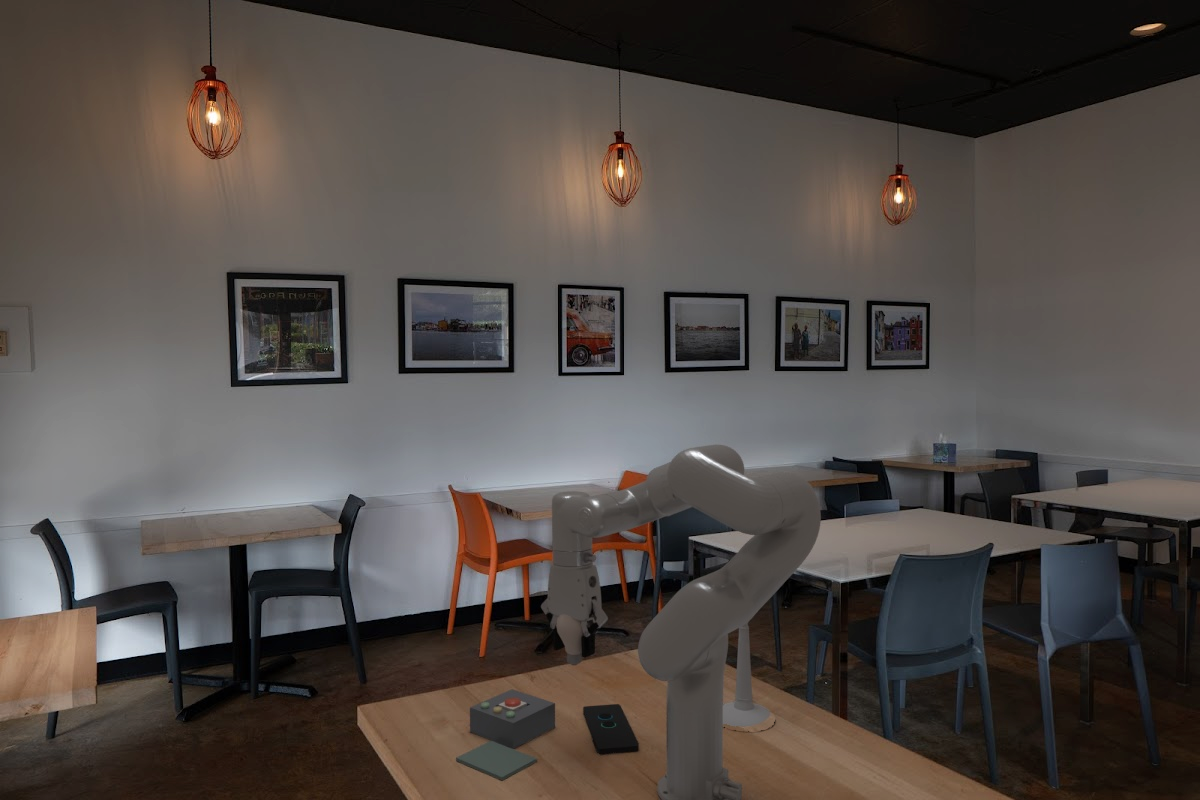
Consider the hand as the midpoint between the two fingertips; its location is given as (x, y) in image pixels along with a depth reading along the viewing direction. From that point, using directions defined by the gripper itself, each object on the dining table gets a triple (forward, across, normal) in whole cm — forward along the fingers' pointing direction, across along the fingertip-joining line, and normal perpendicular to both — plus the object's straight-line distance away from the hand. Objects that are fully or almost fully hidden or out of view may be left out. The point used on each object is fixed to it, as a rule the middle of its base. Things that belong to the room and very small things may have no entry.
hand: (574, 651), depth 158 cm
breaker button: (+16, +16, +1) cm, 23 cm away
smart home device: (+20, 0, -11) cm, 22 cm away
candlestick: (+19, -18, -32) cm, 42 cm away
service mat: (+19, +9, +12) cm, 24 cm away
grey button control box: (+19, +16, +1) cm, 24 cm away
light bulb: (+3, 0, 0) cm, 3 cm away
